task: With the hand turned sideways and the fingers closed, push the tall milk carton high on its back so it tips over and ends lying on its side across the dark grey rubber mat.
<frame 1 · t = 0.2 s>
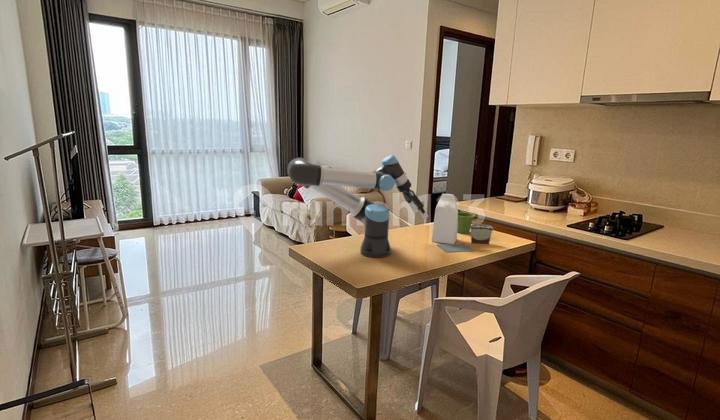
hand: (421, 214, 206), 15 cm above the table, tool tilted 35°, fingers open, 13 cm apart
food container: (478, 242, 212), on the table
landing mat: (455, 247, 201), on the table
plant pot: (462, 232, 232), on the table
milk: (444, 240, 214), on the table, touching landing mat
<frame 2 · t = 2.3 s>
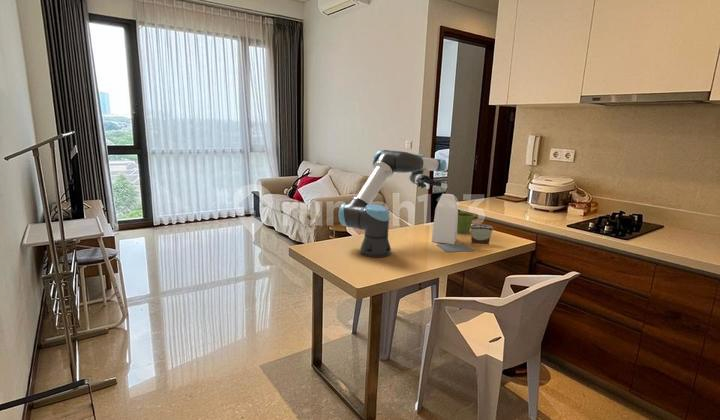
hand: (437, 186, 220), 28 cm above the table, tool horizontal, fingers open, 10 cm apart
nothing on the table moved.
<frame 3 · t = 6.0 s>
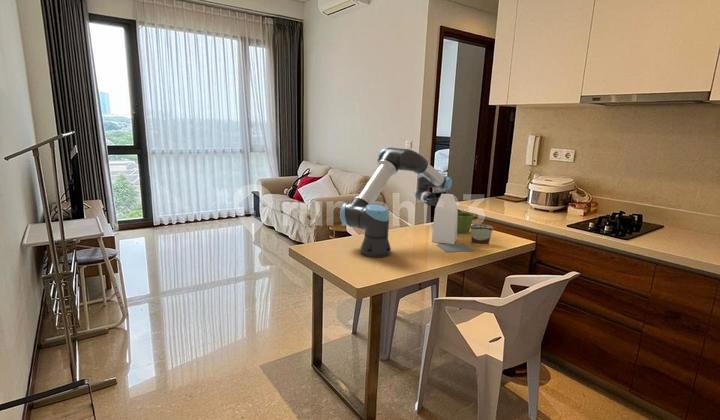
hand: (446, 206, 215), 18 cm above the table, tool horizontal, fingers closed
milk: (444, 240, 214), on the table, touching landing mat
everything else where it was.
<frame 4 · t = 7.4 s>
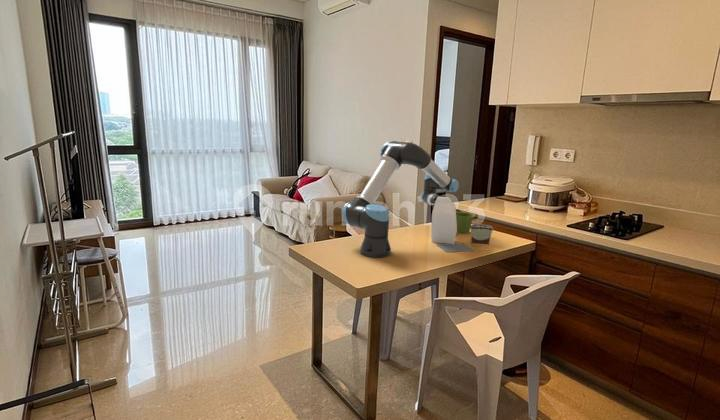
hand: (454, 209, 208), 18 cm above the table, tool horizontal, fingers closed
milk: (444, 236, 213), point 2 cm above the table, touching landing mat
everything else where it was.
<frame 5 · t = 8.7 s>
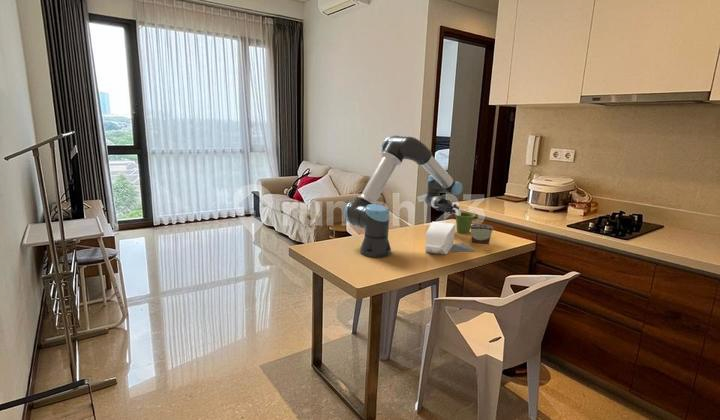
hand: (459, 213, 200), 18 cm above the table, tool horizontal, fingers closed
milk: (443, 232, 207), point 6 cm above the table, touching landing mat
everything else where it was.
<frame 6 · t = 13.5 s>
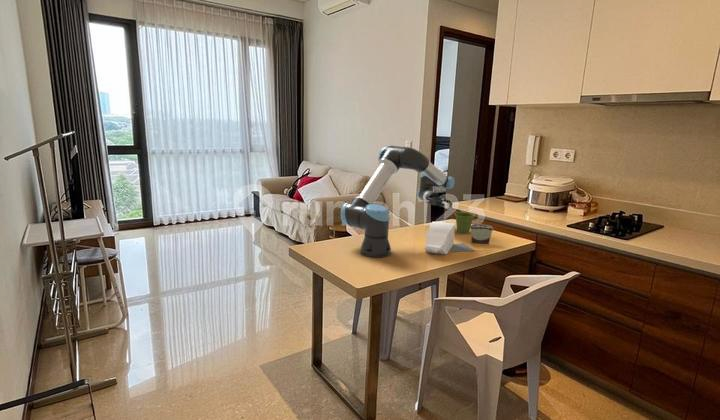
hand: (448, 206, 213), 19 cm above the table, tool horizontal, fingers closed
nothing on the table moved.
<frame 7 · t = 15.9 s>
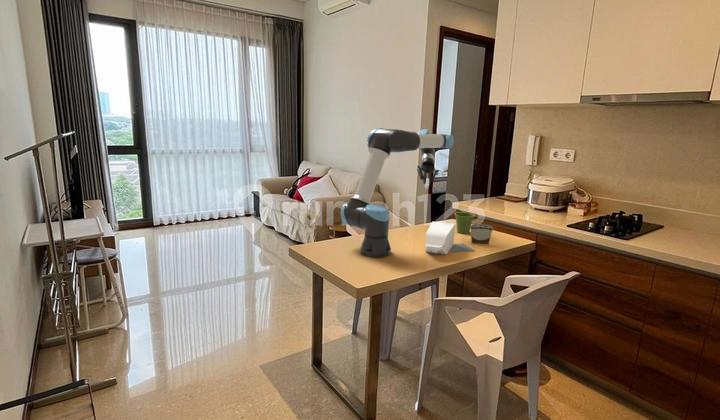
hand: (426, 187, 212), 29 cm above the table, tool tilted 60°, fingers closed
nothing on the table moved.
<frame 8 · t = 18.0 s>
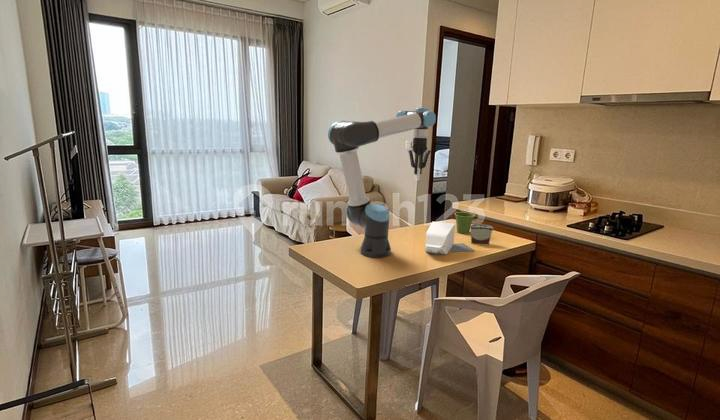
hand: (417, 180, 214), 32 cm above the table, tool pointing down, fingers closed
nothing on the table moved.
at the end: milk tilted 92°; milk inside the target area (5.6 cm from its centre), point 6.0 cm above the table; milk touching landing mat, table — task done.
